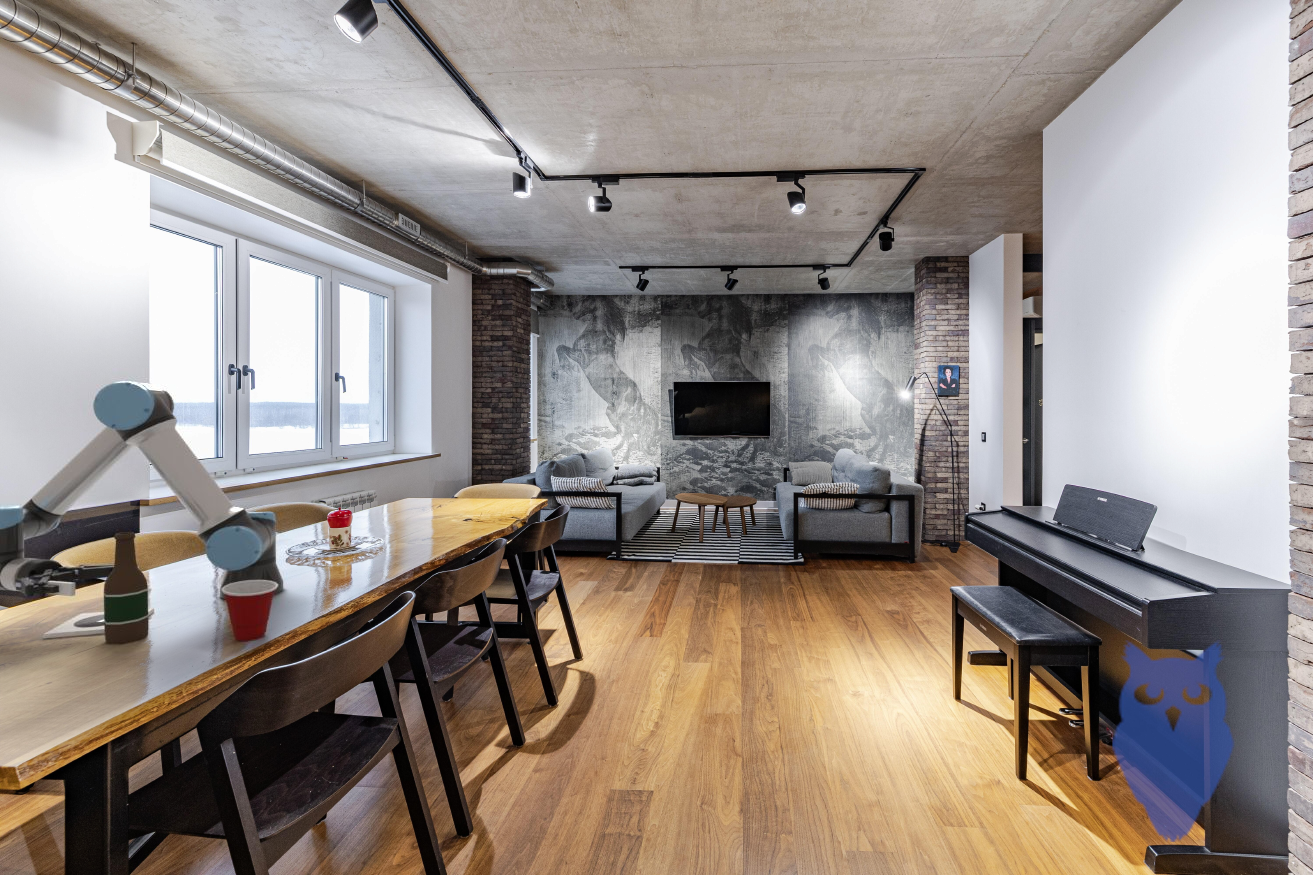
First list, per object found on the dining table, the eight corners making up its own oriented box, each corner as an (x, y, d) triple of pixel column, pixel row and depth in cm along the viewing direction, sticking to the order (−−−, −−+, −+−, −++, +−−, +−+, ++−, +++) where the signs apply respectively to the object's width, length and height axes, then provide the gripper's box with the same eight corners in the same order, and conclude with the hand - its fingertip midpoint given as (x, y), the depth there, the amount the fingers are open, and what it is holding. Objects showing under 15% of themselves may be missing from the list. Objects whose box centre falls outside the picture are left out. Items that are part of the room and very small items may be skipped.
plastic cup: (251, 647, 135) (250, 593, 134) (209, 643, 137) (208, 589, 136) (290, 630, 145) (289, 580, 145) (251, 627, 148) (250, 577, 147)
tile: (154, 611, 158) (154, 607, 158) (125, 631, 144) (125, 626, 144) (81, 617, 153) (80, 612, 153) (43, 638, 139) (43, 633, 139)
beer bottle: (157, 634, 142) (155, 531, 141) (118, 646, 134) (116, 537, 134) (134, 630, 144) (132, 528, 143) (95, 642, 137) (92, 534, 136)
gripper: (93, 577, 156) (162, 582, 152) (-36, 607, 131) (42, 614, 127) (92, 548, 156) (161, 552, 151) (-37, 572, 131) (41, 578, 127)
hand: (107, 581), depth 139 cm, fingers open, 13 cm apart
